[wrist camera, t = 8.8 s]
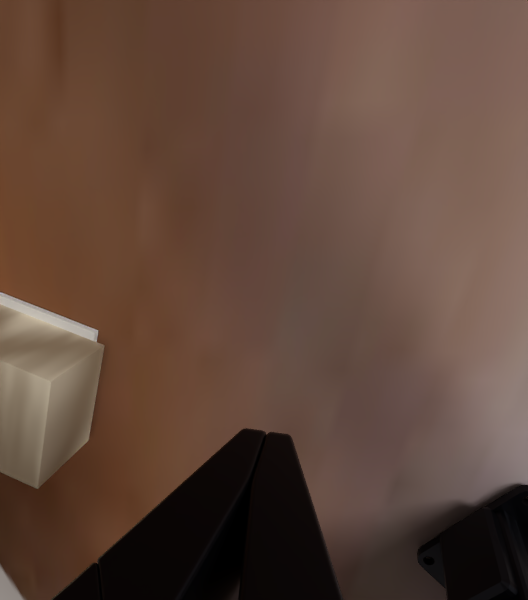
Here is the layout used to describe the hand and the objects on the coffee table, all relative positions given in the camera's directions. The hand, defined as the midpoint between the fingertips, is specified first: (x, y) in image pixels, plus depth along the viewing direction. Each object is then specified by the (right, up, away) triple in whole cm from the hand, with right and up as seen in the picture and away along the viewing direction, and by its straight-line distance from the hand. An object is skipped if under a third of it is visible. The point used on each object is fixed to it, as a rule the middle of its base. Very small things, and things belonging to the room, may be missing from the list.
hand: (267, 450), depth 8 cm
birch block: (-9, -3, +15) cm, 18 cm away
